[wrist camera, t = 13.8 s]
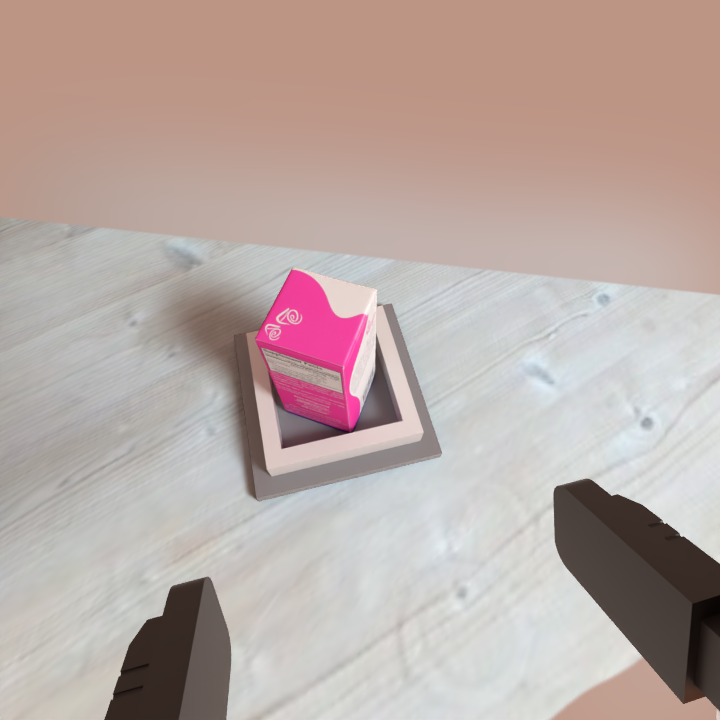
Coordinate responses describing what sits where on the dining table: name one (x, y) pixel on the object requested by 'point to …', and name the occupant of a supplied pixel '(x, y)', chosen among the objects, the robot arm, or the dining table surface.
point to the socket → (329, 445)
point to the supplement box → (321, 347)
